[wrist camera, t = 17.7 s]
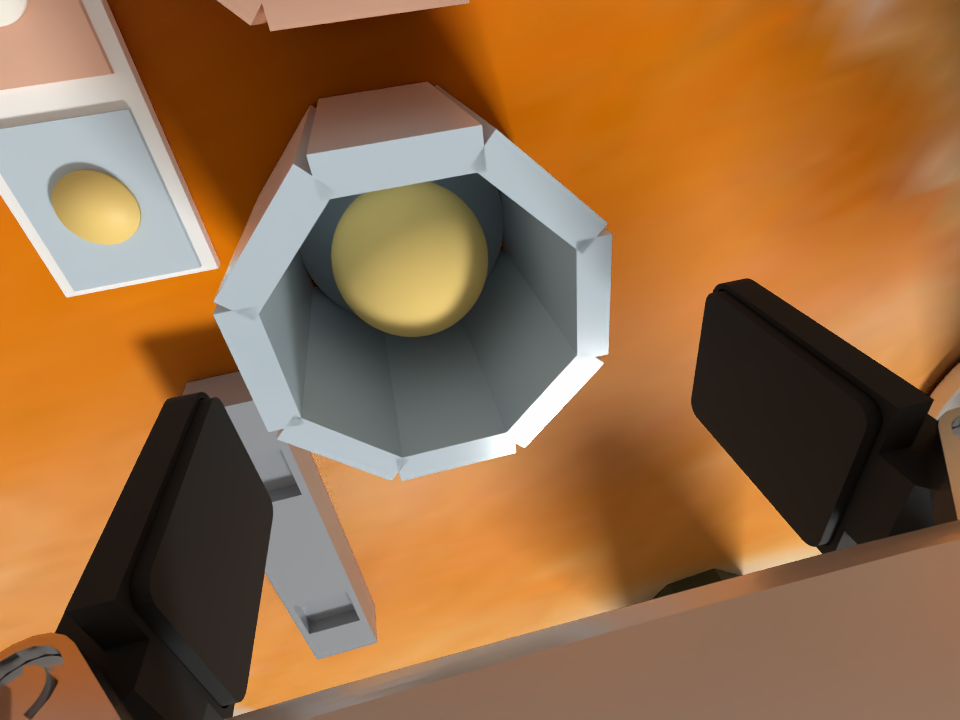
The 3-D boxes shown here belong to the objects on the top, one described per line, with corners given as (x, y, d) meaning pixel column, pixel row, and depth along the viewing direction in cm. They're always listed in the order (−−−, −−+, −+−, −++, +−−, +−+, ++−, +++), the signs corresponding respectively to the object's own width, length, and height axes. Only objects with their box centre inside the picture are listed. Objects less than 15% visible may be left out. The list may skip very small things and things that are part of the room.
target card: (26, -185, 11) (6, -198, 10) (220, 263, 16) (215, 273, 16) (-215, -163, 10) (-252, -175, 10) (72, 291, 16) (60, 303, 15)
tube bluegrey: (513, 68, 15) (616, 102, 10) (529, 310, 20) (605, 430, 14) (224, 113, 14) (150, 181, 9) (313, 357, 19) (303, 505, 13)
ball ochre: (462, 149, 16) (495, 191, 12) (479, 281, 18) (511, 348, 15) (315, 175, 15) (304, 225, 12) (353, 306, 18) (354, 381, 14)
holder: (273, 363, 19) (267, 397, 17) (374, 606, 28) (377, 642, 26) (186, 382, 18) (172, 418, 17) (318, 621, 28) (317, 659, 26)
